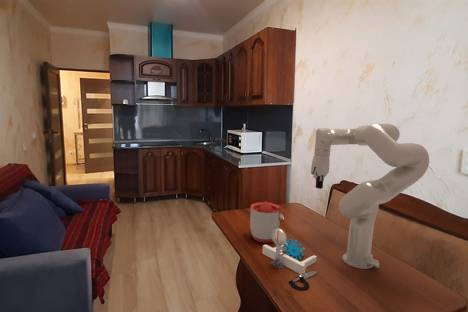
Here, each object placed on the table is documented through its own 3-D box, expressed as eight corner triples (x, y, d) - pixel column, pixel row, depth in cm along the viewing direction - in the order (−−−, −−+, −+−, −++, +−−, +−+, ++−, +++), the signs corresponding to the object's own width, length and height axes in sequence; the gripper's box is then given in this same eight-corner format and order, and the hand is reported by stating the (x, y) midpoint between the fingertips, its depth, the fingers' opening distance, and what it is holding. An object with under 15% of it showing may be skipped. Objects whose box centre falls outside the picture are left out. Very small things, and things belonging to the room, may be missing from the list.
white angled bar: (321, 264, 124) (322, 255, 123) (302, 275, 115) (302, 265, 114) (281, 245, 140) (282, 237, 140) (262, 253, 131) (262, 245, 131)
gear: (287, 260, 123) (282, 238, 129) (281, 264, 127) (276, 242, 133) (309, 260, 127) (303, 238, 132) (302, 264, 131) (296, 242, 137)
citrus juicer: (281, 247, 138) (284, 208, 135) (246, 243, 141) (248, 204, 138) (283, 234, 153) (285, 198, 150) (251, 230, 156) (252, 195, 153)
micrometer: (299, 294, 104) (300, 288, 103) (286, 284, 109) (286, 278, 109) (327, 282, 112) (327, 276, 111) (313, 273, 117) (313, 267, 117)
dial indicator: (290, 265, 122) (292, 229, 119) (281, 270, 118) (283, 232, 115) (277, 259, 127) (280, 224, 124) (268, 263, 123) (270, 227, 120)
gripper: (323, 151, 151) (320, 184, 154) (307, 152, 141) (304, 188, 144) (336, 152, 145) (333, 187, 148) (320, 155, 136) (317, 192, 138)
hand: (319, 188), depth 146 cm, fingers closed
